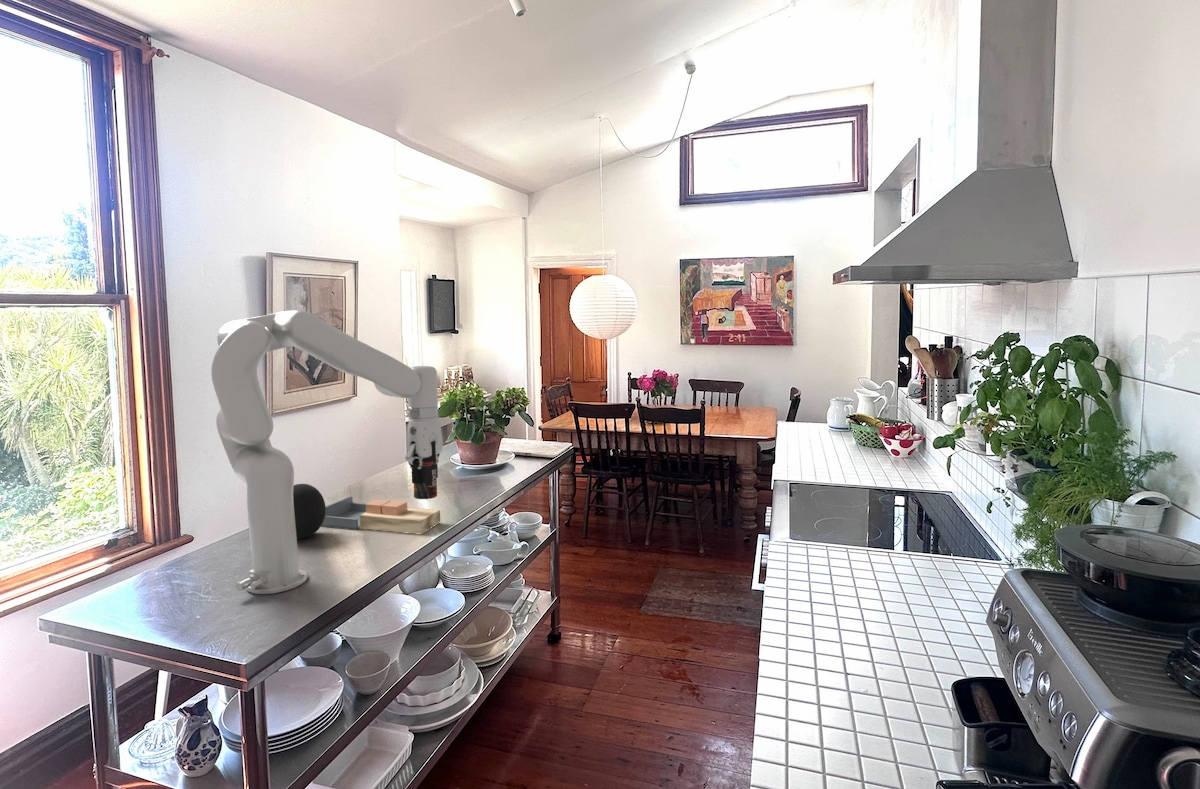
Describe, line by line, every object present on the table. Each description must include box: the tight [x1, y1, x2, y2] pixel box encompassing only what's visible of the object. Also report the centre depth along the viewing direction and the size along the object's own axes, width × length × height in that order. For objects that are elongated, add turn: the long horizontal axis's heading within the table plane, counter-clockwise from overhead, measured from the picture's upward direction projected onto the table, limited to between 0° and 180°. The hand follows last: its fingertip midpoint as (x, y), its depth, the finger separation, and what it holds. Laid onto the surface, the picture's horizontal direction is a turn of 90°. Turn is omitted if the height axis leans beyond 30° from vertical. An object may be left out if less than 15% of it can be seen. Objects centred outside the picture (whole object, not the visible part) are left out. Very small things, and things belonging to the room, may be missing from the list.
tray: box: [321, 495, 367, 530], centre depth 195 cm, size 14×13×5 cm
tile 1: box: [365, 498, 392, 514], centre depth 191 cm, size 5×5×2 cm
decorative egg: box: [293, 483, 327, 539], centre depth 181 cm, size 12×12×15 cm
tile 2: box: [382, 500, 408, 515], centre depth 189 cm, size 5×5×2 cm
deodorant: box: [413, 441, 438, 500], centre depth 174 cm, size 6×6×15 cm
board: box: [359, 506, 442, 534], centre depth 189 cm, size 10×20×4 cm, turn 72°
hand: (425, 479), depth 175 cm, fingers closed on deodorant, 5 cm apart
